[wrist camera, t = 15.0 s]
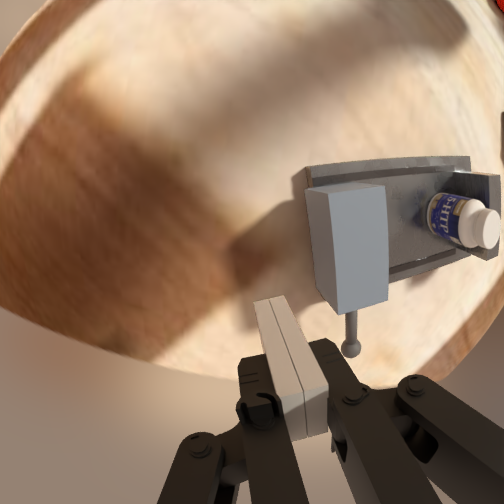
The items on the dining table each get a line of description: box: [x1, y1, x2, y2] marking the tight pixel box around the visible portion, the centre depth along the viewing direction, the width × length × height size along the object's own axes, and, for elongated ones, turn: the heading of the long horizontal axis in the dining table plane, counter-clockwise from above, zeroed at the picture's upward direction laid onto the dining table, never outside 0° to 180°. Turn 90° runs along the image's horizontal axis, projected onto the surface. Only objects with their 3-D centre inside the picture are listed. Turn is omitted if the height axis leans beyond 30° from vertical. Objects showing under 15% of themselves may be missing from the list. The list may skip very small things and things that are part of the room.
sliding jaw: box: [304, 182, 389, 358], centre depth 24 cm, size 18×5×6 cm, turn 10°
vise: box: [305, 156, 501, 301], centre depth 25 cm, size 14×24×8 cm, turn 100°
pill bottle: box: [427, 193, 501, 249], centre depth 23 cm, size 5×5×9 cm
